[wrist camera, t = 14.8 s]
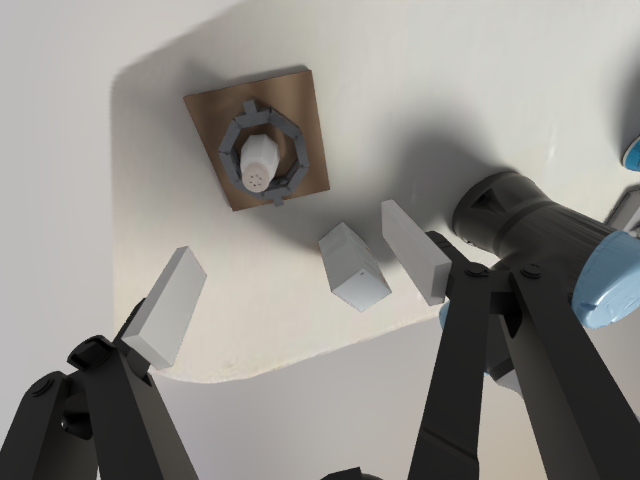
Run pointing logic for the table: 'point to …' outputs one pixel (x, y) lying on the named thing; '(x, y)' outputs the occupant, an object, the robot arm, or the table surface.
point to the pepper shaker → (259, 162)
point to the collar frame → (232, 160)
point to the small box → (352, 268)
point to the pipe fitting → (638, 232)
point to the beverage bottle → (633, 156)
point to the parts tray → (627, 214)
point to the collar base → (263, 129)
